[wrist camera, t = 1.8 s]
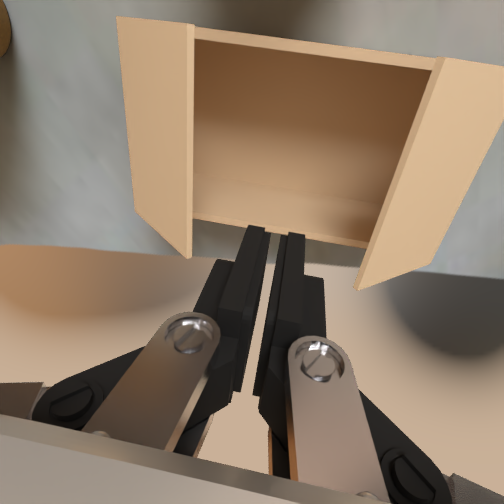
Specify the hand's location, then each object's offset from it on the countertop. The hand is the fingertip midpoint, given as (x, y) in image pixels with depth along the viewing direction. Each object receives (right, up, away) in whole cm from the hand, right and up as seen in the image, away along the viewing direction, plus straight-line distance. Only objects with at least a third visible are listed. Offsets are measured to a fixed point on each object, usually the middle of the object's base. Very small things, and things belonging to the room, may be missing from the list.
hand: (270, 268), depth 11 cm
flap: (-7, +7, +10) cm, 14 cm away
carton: (+4, +12, +19) cm, 23 cm away
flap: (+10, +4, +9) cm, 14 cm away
